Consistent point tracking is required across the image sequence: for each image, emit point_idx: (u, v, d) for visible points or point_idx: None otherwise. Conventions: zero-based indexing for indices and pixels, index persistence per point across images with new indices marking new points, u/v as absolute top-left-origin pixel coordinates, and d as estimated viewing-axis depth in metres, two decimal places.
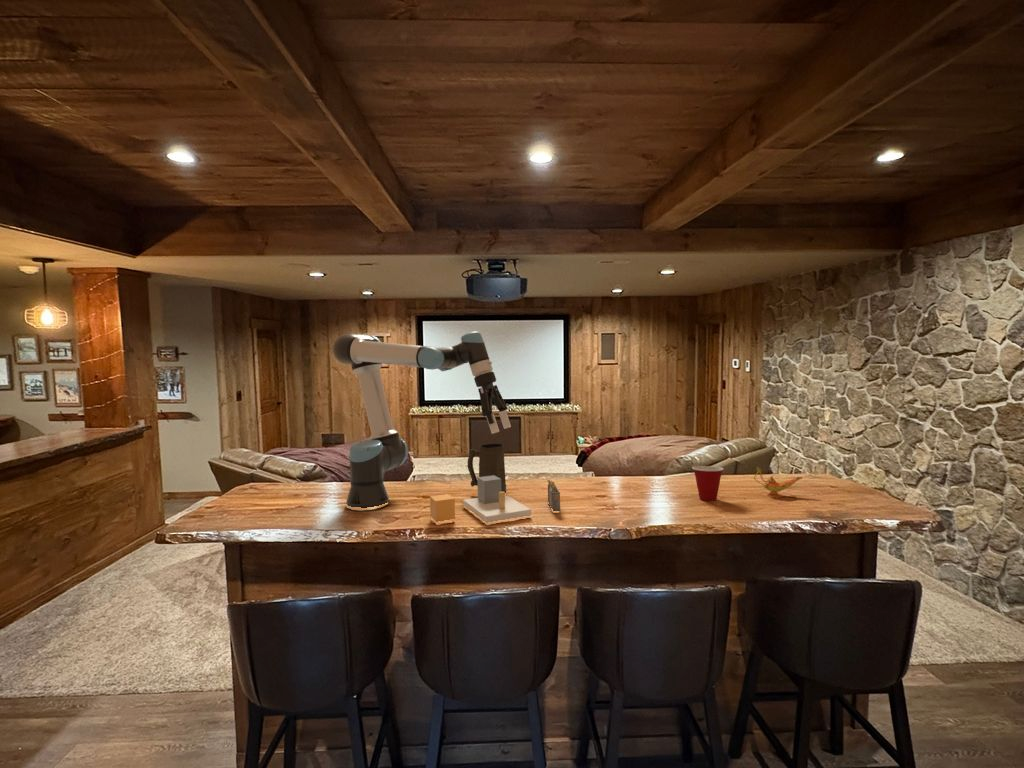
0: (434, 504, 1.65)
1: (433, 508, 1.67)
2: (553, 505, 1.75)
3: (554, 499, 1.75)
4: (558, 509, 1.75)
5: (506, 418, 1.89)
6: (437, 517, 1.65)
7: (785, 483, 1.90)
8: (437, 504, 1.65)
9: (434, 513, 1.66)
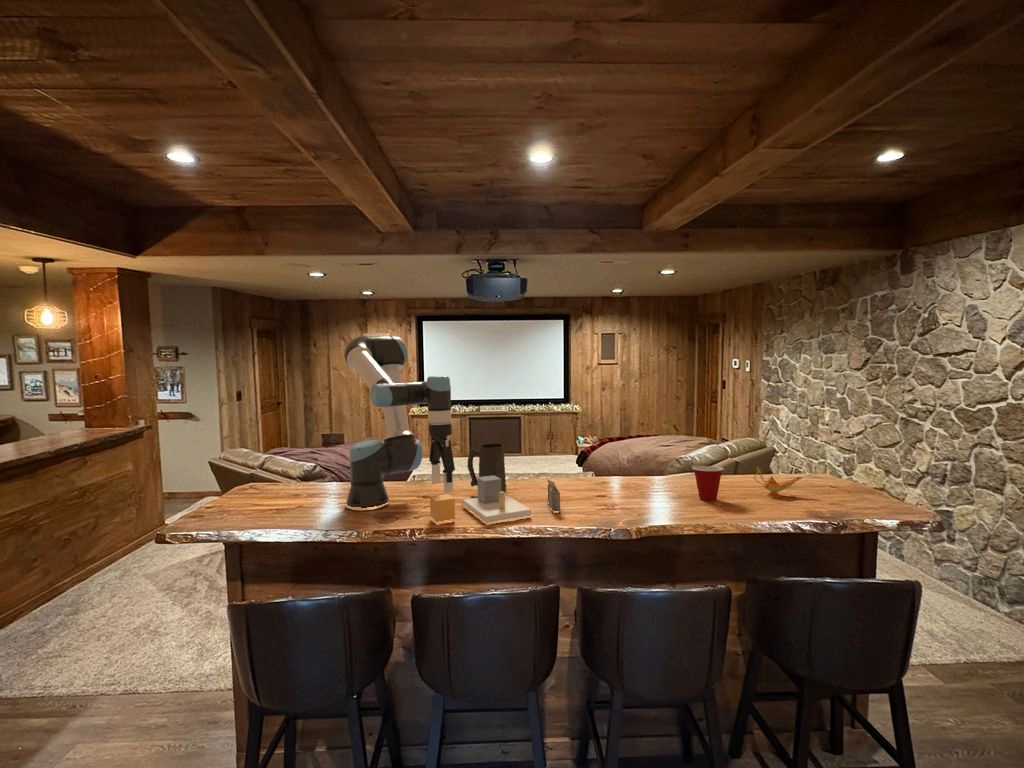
0: (434, 504, 1.65)
1: (433, 508, 1.67)
2: (553, 505, 1.75)
3: (554, 499, 1.75)
4: (558, 509, 1.75)
5: (438, 473, 1.74)
6: (437, 517, 1.65)
7: (785, 483, 1.90)
8: (437, 504, 1.65)
9: (434, 513, 1.66)
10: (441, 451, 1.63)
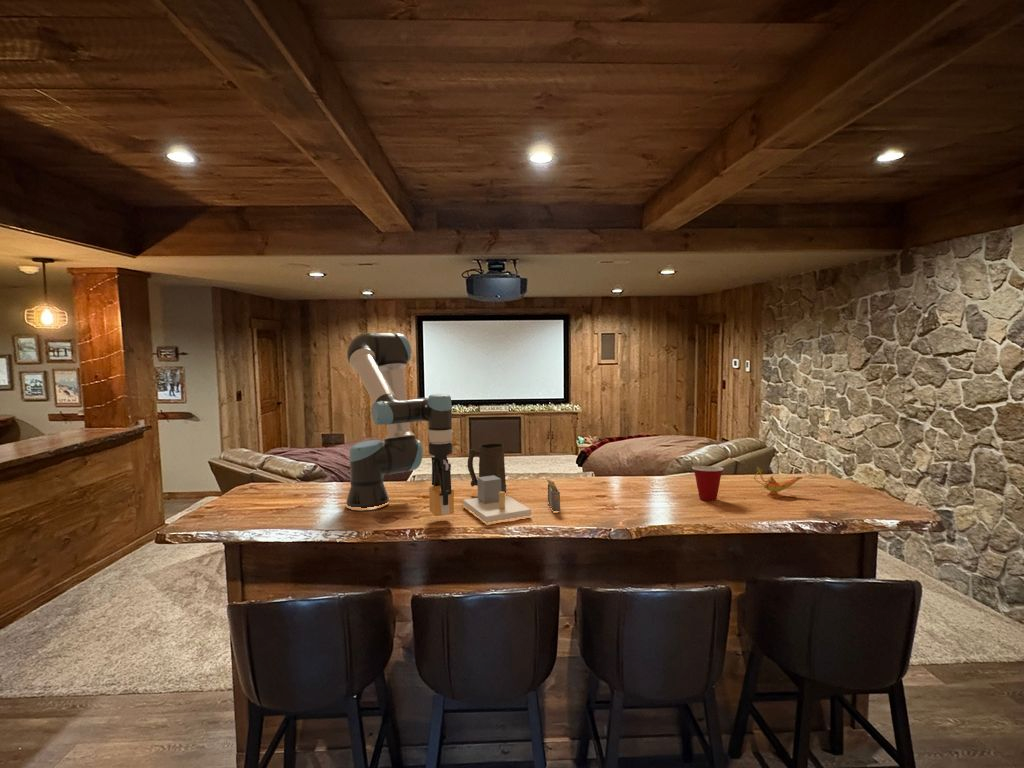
0: (433, 495, 1.66)
1: (432, 499, 1.67)
2: (553, 505, 1.75)
3: (554, 499, 1.75)
4: (558, 509, 1.75)
5: None
6: (436, 508, 1.65)
7: (785, 483, 1.90)
8: (436, 495, 1.65)
9: (433, 503, 1.66)
10: (440, 472, 1.65)
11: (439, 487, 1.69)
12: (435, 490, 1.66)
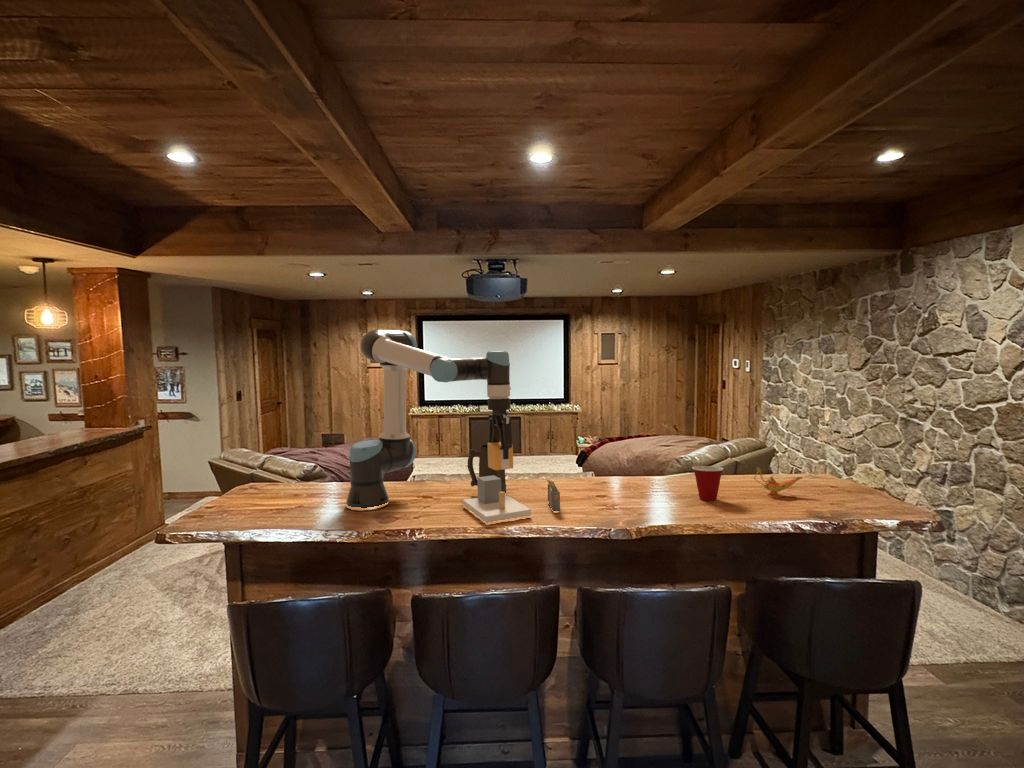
0: (493, 449, 1.67)
1: (492, 453, 1.69)
2: (553, 505, 1.75)
3: (554, 499, 1.75)
4: (558, 509, 1.75)
5: None
6: (496, 462, 1.67)
7: (785, 483, 1.90)
8: (496, 449, 1.66)
9: (493, 458, 1.68)
10: (500, 427, 1.67)
11: (498, 443, 1.71)
12: (495, 445, 1.68)
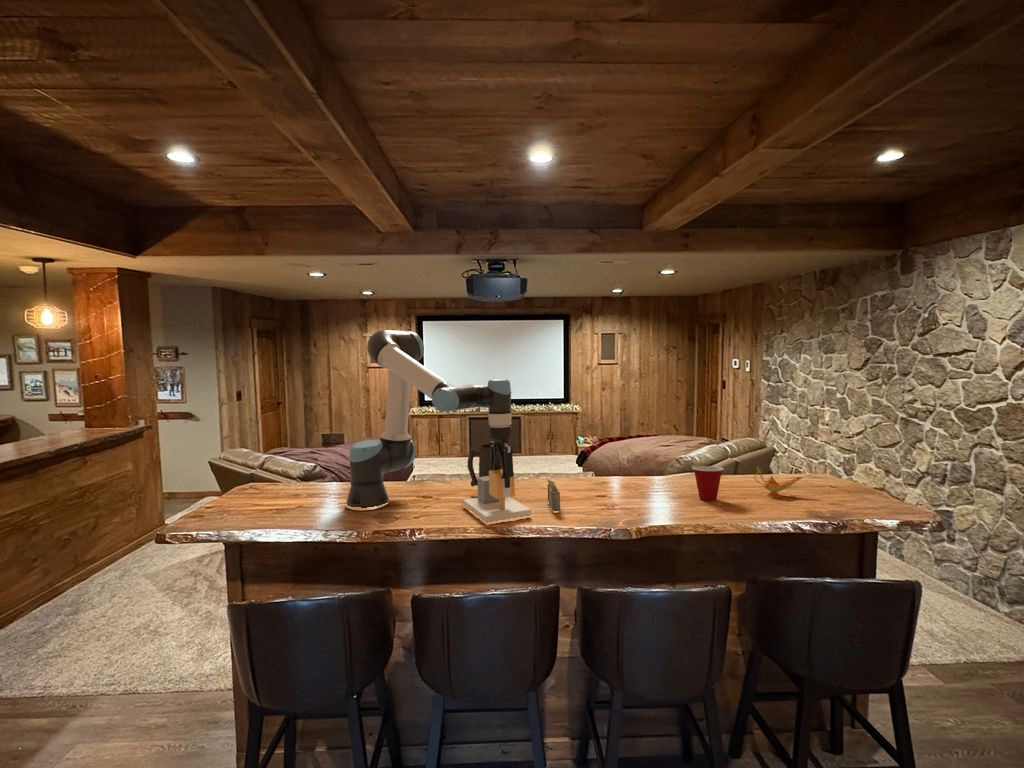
0: (494, 478, 1.68)
1: (493, 482, 1.69)
2: (553, 505, 1.75)
3: (554, 499, 1.75)
4: (558, 509, 1.75)
5: None
6: (498, 490, 1.67)
7: (785, 483, 1.90)
8: (498, 477, 1.67)
9: (494, 486, 1.68)
10: (501, 455, 1.68)
11: (499, 471, 1.72)
12: (496, 473, 1.68)
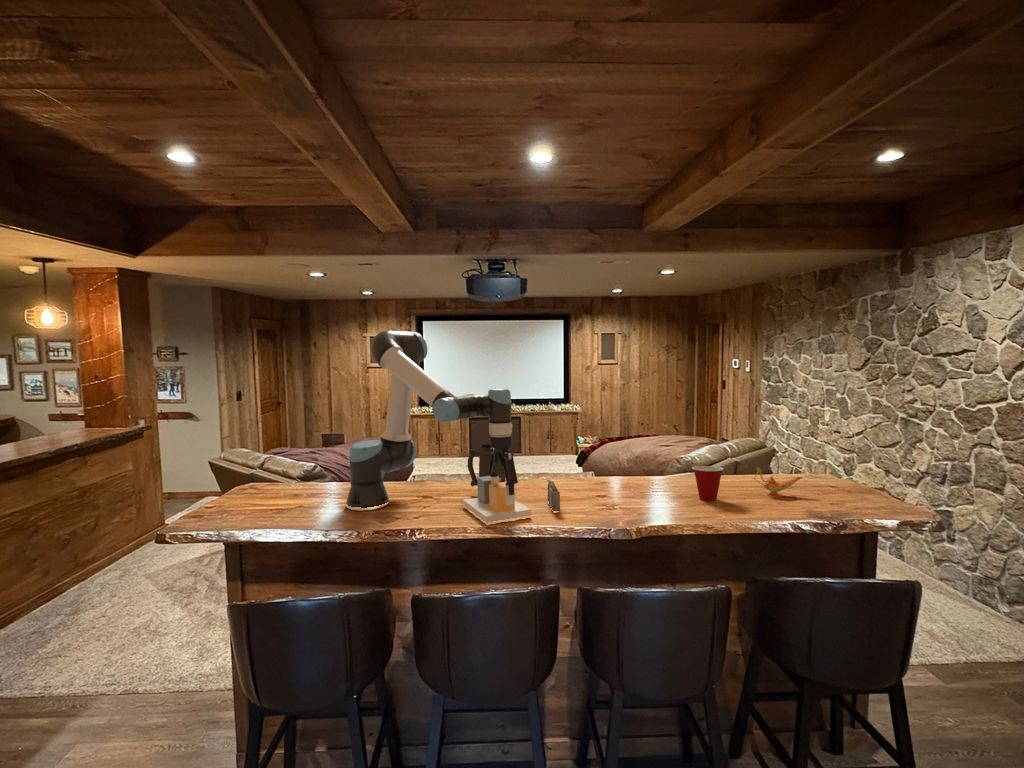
0: (495, 491, 1.68)
1: (493, 495, 1.69)
2: (553, 505, 1.75)
3: (554, 499, 1.75)
4: (558, 509, 1.75)
5: None
6: (498, 504, 1.67)
7: (785, 483, 1.90)
8: (498, 491, 1.67)
9: (495, 500, 1.69)
10: (503, 463, 1.66)
11: (499, 484, 1.72)
12: (496, 487, 1.68)
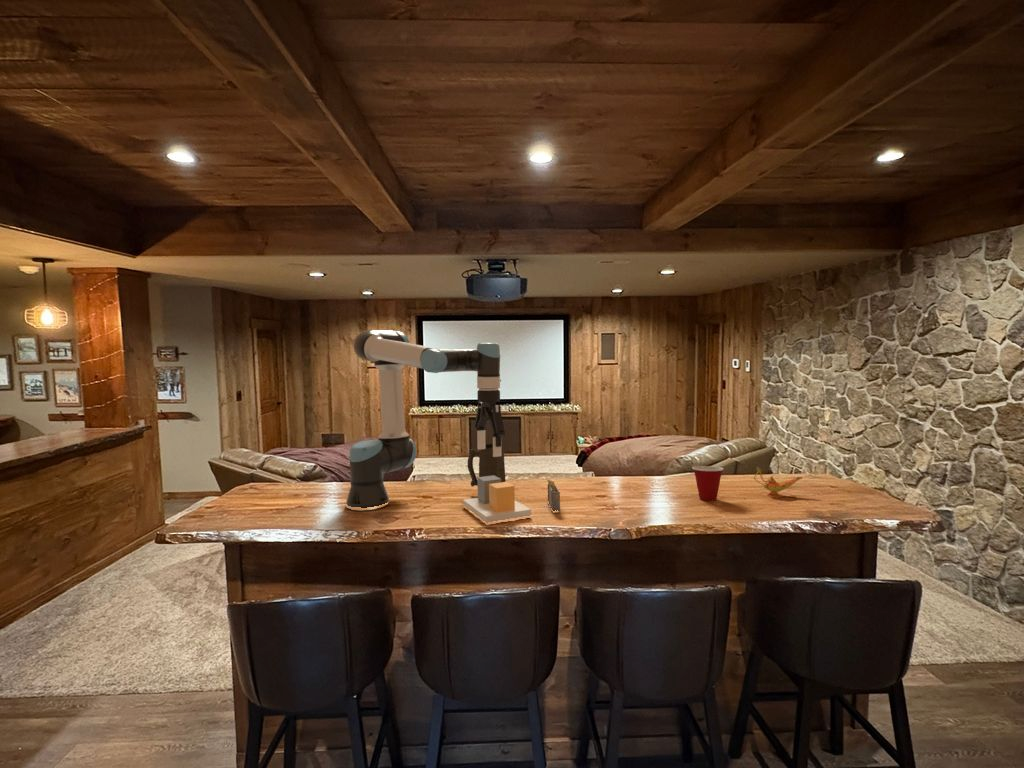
0: (495, 491, 1.68)
1: (493, 495, 1.69)
2: (553, 505, 1.75)
3: (554, 498, 1.75)
4: (558, 509, 1.75)
5: (484, 439, 1.78)
6: (498, 504, 1.67)
7: (785, 483, 1.90)
8: (498, 491, 1.67)
9: (495, 500, 1.69)
10: (490, 416, 1.67)
11: (499, 484, 1.72)
12: (496, 487, 1.68)
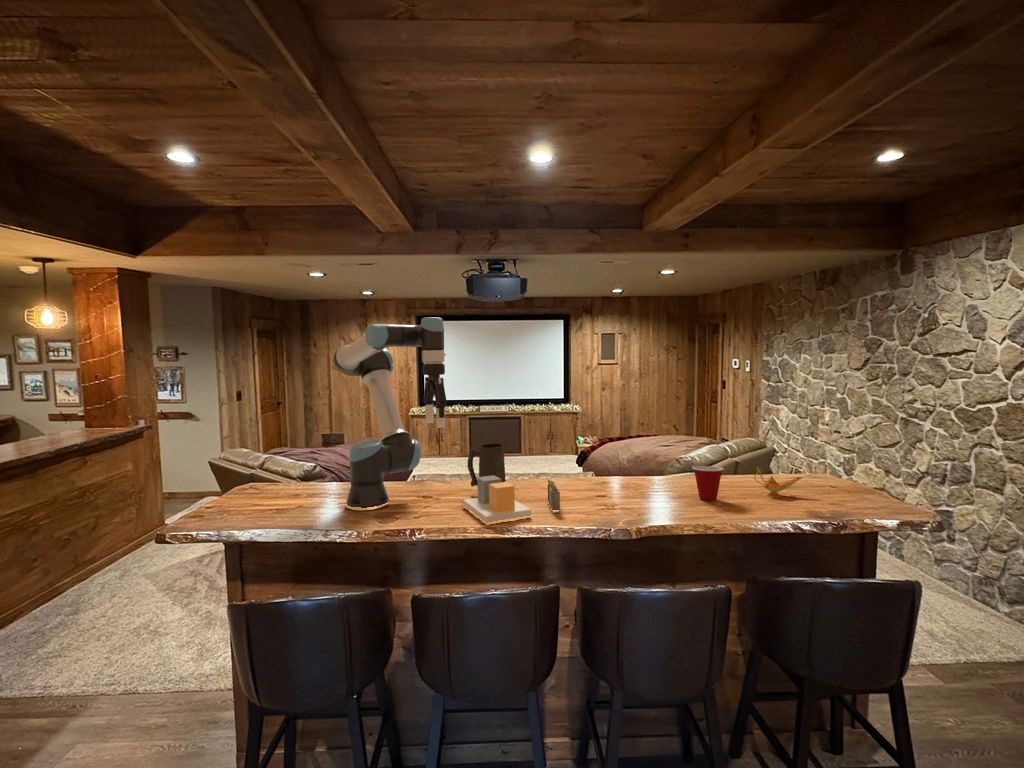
0: (495, 491, 1.68)
1: (493, 495, 1.69)
2: (553, 505, 1.75)
3: (554, 498, 1.75)
4: (558, 509, 1.75)
5: (432, 413, 1.82)
6: (498, 504, 1.67)
7: (785, 483, 1.90)
8: (498, 491, 1.67)
9: (495, 500, 1.69)
10: (434, 389, 1.71)
11: (499, 484, 1.72)
12: (496, 487, 1.68)
